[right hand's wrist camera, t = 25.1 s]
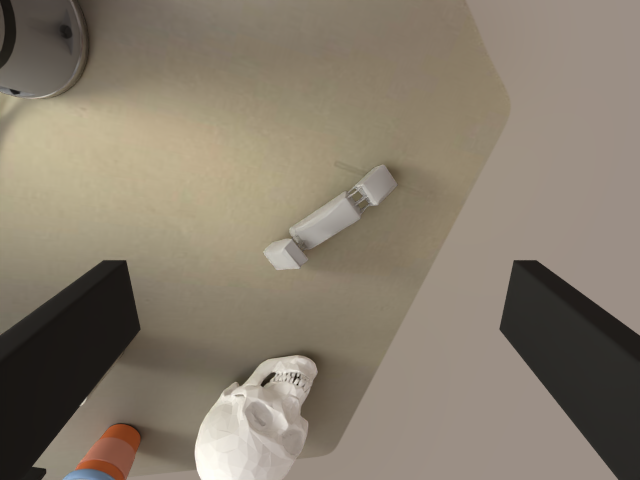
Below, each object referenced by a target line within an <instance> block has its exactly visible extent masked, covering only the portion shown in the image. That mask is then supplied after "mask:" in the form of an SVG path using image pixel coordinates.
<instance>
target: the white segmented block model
mask: <svg viewBox="0 0 640 480" xmlns="http://www.w3.org/2000/svg"><path fill="white" fill-rule="evenodd" d="M396 186H398V185H397V183H396V181H395V180H394V178H393V177H392V175H391V174H390V172H389V171H388V169H387V168H386V166H385V165H380V166H377V167H374V168H373V169H372V170H371V171H370V172H369V173H368V174H366V175H365V176H364V177H363V178H362V179H361V180H360V181H359V182H358V183H357V184H356V185H355V186H354V187H353V188H352V189H351V190H350V191H349V192H348V191H344V192H342V193H341V194H340V195H338V196H337V197H335V198H334V199H332V200H331V201H329V202H328V203H326V204H325V205H323V206H322V207H320V208H319V209H317V210H316V211H314V212H313V213H311V214H310V215H308V216H307V217H305V218H304V219H302V220H301V221H299V222H298V223H296V224H295V225H293V226H292V227H290V230H289V233H290V235H291V236H292V237H293V238H292V239H288V238H286V239H282V240H279V241H274V242H272V243H271V244H270V245H269V246H268V247H267V248H266V249H265V250H264V255H265V256H266V257H267V259H268V260H269V261H270V262H271V264H272V265H273V266H274V267H275V269H276V270H284V269H300V268H301V266H302V265H303V264H304V263H305V262H307V261H308V258H307V256H306V255H305V254H304V253H303V252H302V251H304V250H306V249H308V250H310V249H312V248H314V247H315V246H317V245H319V244H321V243H322V242H324V241H325V240H327V239H329V238H330V237H332V236H333V235H335V234H337V233H338V232H340V231H341V230H343V229H345V228H346V227H348V226H350V225H351V224H353V223H355V222H356V221H358V220H359V219H360V218H361V214H362V213H363V212H364V211H365V209H366V208H367V207H368V206H376V205H379V204H380V203H381V202H382V201H383V200H384V199H385V198H386V197H387V196H388V195H389V194H390V193H391V192H392V191H393V189H394V188H395V187H396ZM354 188H355V189H356V191H355V192H354V193H352V194H351V195H350V192H351V191H352V190H353V189H354ZM358 191H359V192H360V194H361V195H362V196H363V197H362V198H361V199H359V200H358V201H356V202H355V200H354V199H353V198H352V195H354V194H355V193H356V192H358ZM360 200H361V201H360ZM363 200H366V201H367V202H368V205H367V206H365V207H364V208H362V209H361V208H360V207H359V206H358V204H359V203H361V202H362V201H363ZM357 202H358V203H357ZM362 210H363V211H362ZM361 211H362V212H361ZM293 239H294V240H295V241H296V243H297V244H298V245H296V243H295V242H294V241H293ZM298 246H299V247H300V248H299V247H298ZM301 248H303V250H300V249H301Z"/></svg>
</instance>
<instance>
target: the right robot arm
mask: <svg viewBox="0 0 640 480" xmlns="http://www.w3.org/2000/svg"><path fill="white" fill-rule="evenodd" d="M88 50H89V40H88V31H87V26H86V22H85V18H84V15H83V13H82V10H81V8H80V6H79V4H78V1H77V0H0V92H2V93H5V94H8V95H12V96H15V97H21V98H37V99H39V98H50V97H54V96H57V95H60V94H62V93H64V92H65V91H67V90H68V89H70V88H71V87H72V86H73V85H74V84H75V83H76V82H77V81H78V79H79V78H80V76H81V75H82V72H83V70H84V68H85V65H86V62H87V58H88ZM139 331H140V324H139V320H138V315H137V310H136V305H135V300H134V296H133V291H132V286H131V281H130V276H129V272H128V267H127V262H126V260H103V261H102V262H101V263H99V264H98V265H96V266H95V267H94V268H92V269H91V270H90V271H88V272H87V273H86V274H84V275H83V276H81V277H80V278H79V279H77V280H76V281H75V282H73V283H72V284H70V285H69V286H68V287H66V288H65V289H64V290H62V291H61V292H59V293H58V294H57V295H55V296H54V297H53V298H51V299H50V300H48V301H47V302H46V303H44V304H43V305H42V306H40V307H39V308H38V309H36V310H35V311H33V312H32V313H31V314H29V315H28V316H27V317H25V318H24V319H22V320H21V321H20V322H18V323H17V324H16V325H14V326H13V327H11V328H10V329H9V330H7V331H6V332H5V333H3V334H2V335H0V480H22V478H23V477H24V476H25V475H26V473H27V472H28V471H29V470H30V468H31V467H32V466H33V465H34V463H35V462H36V461H37V460H38V458H39V457H40V456H41V454H42V453H43V452H44V451H45V449H46V448H47V447H48V446H49V444H50V443H51V442H52V441H53V439H54V438H55V437H56V436H57V434H58V433H59V432H60V430H61V429H62V428H63V427H64V425H65V424H66V423H67V422H68V420H69V419H70V418H71V417H72V415H73V414H74V413H75V412H76V410H77V409H78V408H79V406H80V405H81V404H82V403H83V401H84V400H85V399H86V398H87V396H88V395H89V394H90V393H91V391H92V390H93V389H94V388H95V386H96V385H97V384H98V382H99V381H100V380H101V379H102V377H103V376H104V375H105V374H106V372H107V371H108V370H109V369H110V367H111V366H112V365H113V363H114V362H115V361H116V360H117V358H118V357H119V356H120V355H121V353H122V352H123V351H124V350H125V348H126V347H127V346H128V345H129V343H130V342H131V341H132V339H133V338H134V337H135V336H136V334H137V333H138V332H139ZM500 331H501V332H502V333H503V334H504V336H505V337H506V338H507V339H508V341H509V342H510V343H511V345H512V346H513V347H514V348H515V350H516V351H517V352H518V353H519V355H520V356H521V357H522V358H523V360H524V361H525V362H526V363H527V365H528V366H529V367H530V369H531V370H532V371H533V372H534V374H535V375H536V376H537V377H538V379H539V380H540V381H541V382H542V384H543V385H544V386H545V387H546V389H547V390H548V391H549V393H550V394H551V395H552V396H553V398H554V399H555V400H556V401H557V403H558V404H559V405H560V406H561V408H562V409H563V410H564V411H565V413H566V414H567V415H568V417H569V418H570V419H571V420H572V422H573V423H574V424H575V425H576V427H577V428H578V429H579V430H580V432H581V433H582V434H583V436H584V437H585V438H586V439H587V441H588V442H589V443H590V444H591V446H592V447H593V448H594V449H595V451H596V452H597V453H598V454H599V456H600V457H601V458H602V459H603V461H604V462H605V463H606V465H607V466H608V467H609V468H610V470H611V471H612V472H613V473H614V475H615V476H616V477H617V478H618V480H640V335H638V334H637V333H635V332H634V331H633V330H631V329H630V328H629V327H627V326H626V325H624V324H623V323H622V322H620V321H619V320H618V319H616V318H615V317H613V316H612V315H611V314H609V313H608V312H607V311H605V310H604V309H602V308H601V307H600V306H598V305H597V304H596V303H594V302H593V301H592V300H590V299H589V298H587V297H586V296H585V295H583V294H582V293H581V292H579V291H578V290H576V289H575V288H574V287H572V286H571V285H570V284H568V283H567V282H565V281H564V280H563V279H561V278H560V277H559V276H557V275H556V274H554V273H553V272H552V271H550V270H549V269H548V268H546V267H545V266H544V265H542V264H541V263H539V262H538V261H536V260H514V262H513V267H512V272H511V276H510V281H509V286H508V291H507V296H506V300H505V305H504V310H503V315H502V320H501V324H500Z"/></svg>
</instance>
